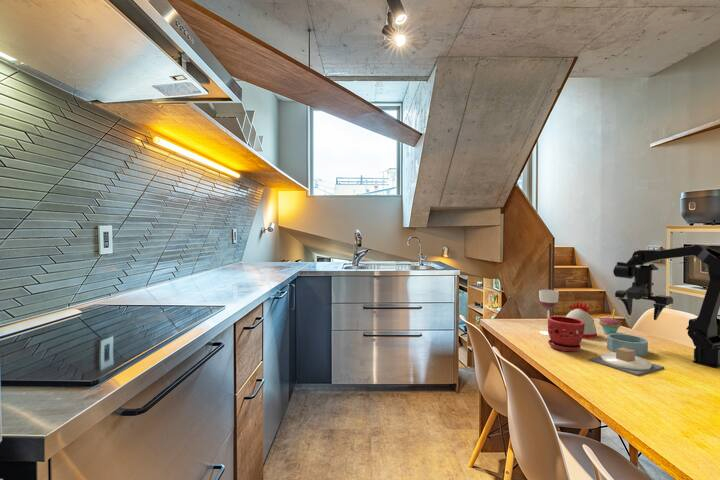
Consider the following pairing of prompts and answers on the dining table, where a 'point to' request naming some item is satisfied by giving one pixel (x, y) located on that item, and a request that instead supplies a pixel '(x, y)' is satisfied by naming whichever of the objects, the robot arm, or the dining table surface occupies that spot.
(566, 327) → the plant pot
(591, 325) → the kitchen timer
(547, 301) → the wineglass
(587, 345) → the dining table surface
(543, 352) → the dining table surface
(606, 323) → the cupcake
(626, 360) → the lid
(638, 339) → the bowl
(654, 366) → the mat
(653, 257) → the robot arm
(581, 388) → the dining table surface
